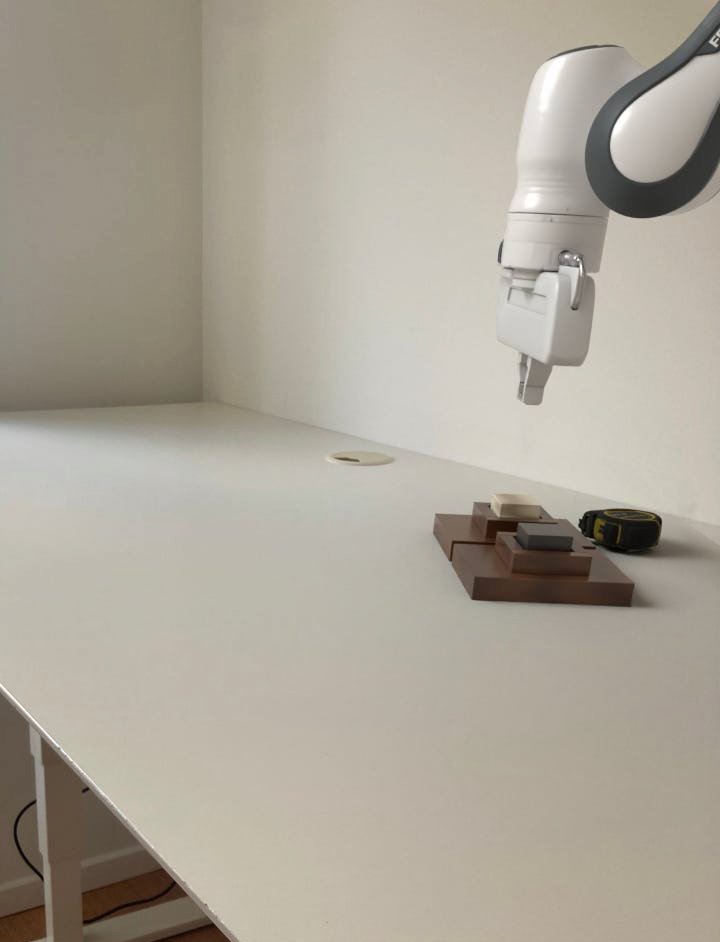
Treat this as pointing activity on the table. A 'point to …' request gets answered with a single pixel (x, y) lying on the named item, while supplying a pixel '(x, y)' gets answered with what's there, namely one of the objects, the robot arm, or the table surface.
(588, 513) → the tape measure
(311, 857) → the table surface
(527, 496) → the ivory key
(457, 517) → the key block far
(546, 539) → the black key
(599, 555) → the key block near
